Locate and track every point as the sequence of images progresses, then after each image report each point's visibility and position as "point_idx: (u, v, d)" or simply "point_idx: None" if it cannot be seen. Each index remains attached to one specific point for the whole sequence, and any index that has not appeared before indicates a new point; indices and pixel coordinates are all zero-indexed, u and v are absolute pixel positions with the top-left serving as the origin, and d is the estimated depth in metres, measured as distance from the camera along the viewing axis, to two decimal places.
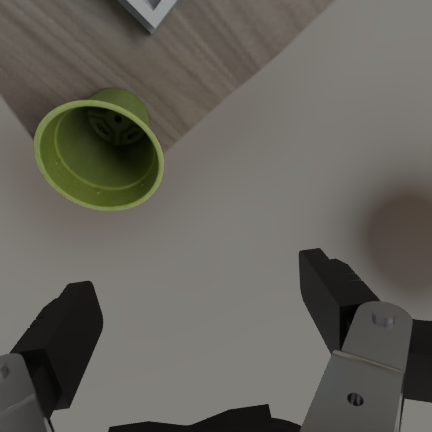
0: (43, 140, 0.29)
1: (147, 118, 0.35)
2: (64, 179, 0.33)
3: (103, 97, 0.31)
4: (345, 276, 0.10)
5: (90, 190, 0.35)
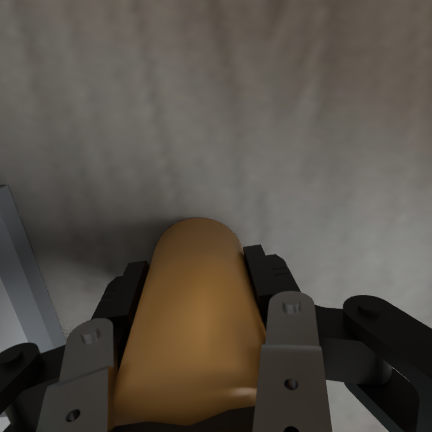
0: None
1: None
2: None
3: None
4: (277, 270, 0.11)
5: None
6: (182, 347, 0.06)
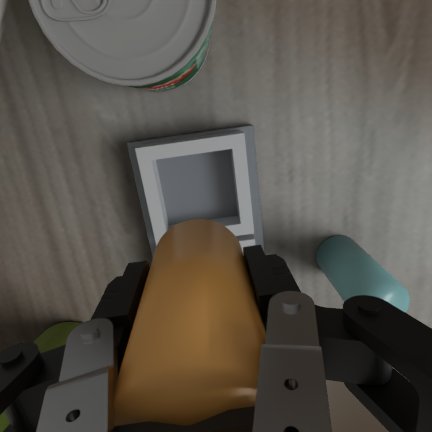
0: None
1: None
2: None
3: None
4: (277, 270, 0.11)
5: None
6: (182, 350, 0.06)
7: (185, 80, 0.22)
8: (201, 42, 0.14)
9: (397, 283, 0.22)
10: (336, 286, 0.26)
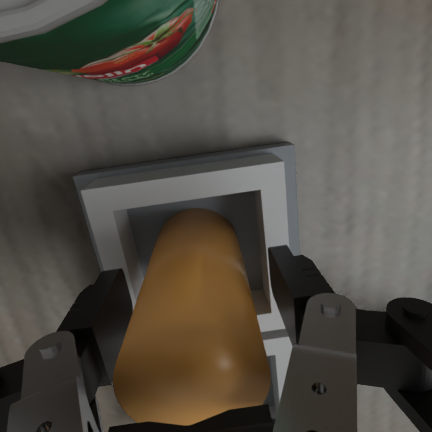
0: None
1: None
2: None
3: None
4: (307, 271, 0.11)
5: None
6: (179, 308, 0.08)
7: (173, 62, 0.11)
8: None
9: None
10: None
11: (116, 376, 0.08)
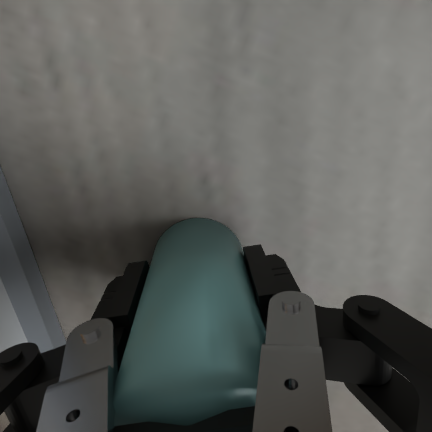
0: None
1: None
2: None
3: None
4: (278, 270, 0.11)
5: None
6: None
7: None
8: None
9: (236, 370, 0.06)
10: None
11: None
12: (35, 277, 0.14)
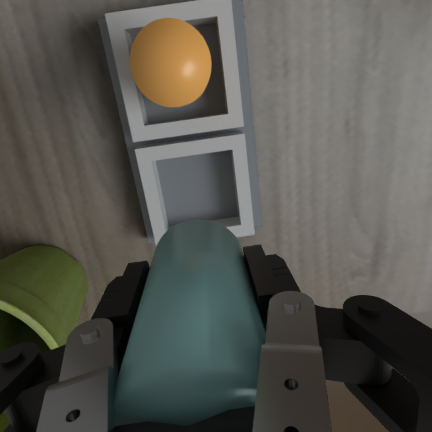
0: None
1: (78, 316, 0.26)
2: None
3: (43, 282, 0.22)
4: (277, 270, 0.11)
5: None
6: None
7: None
8: None
9: (237, 372, 0.06)
10: None
11: (131, 57, 0.15)
12: None
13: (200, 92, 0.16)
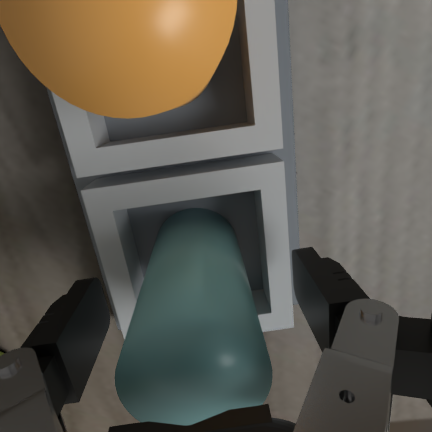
0: None
1: None
2: None
3: None
4: (336, 274, 0.10)
5: None
6: None
7: None
8: None
9: (225, 322, 0.08)
10: None
11: None
12: None
13: (204, 76, 0.06)
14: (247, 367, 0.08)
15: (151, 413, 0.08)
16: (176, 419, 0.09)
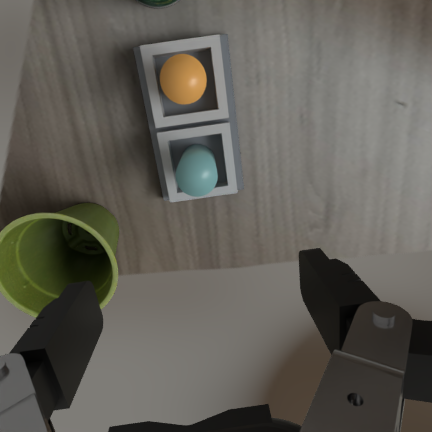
0: (21, 224, 0.29)
1: None
2: (6, 259, 0.31)
3: (97, 220, 0.34)
4: (345, 276, 0.10)
5: (20, 279, 0.33)
6: None
7: None
8: None
9: (204, 157, 0.30)
10: None
11: (160, 75, 0.27)
12: None
13: (200, 95, 0.28)
14: (210, 172, 0.30)
15: (184, 187, 0.30)
16: (191, 189, 0.31)
